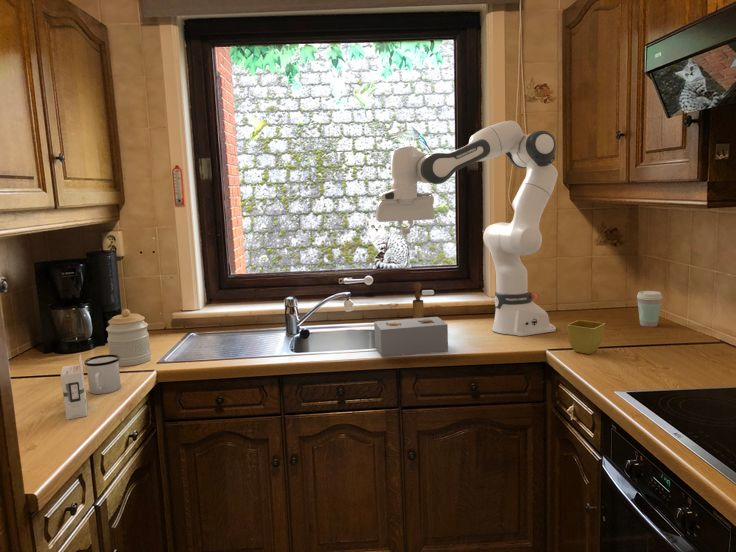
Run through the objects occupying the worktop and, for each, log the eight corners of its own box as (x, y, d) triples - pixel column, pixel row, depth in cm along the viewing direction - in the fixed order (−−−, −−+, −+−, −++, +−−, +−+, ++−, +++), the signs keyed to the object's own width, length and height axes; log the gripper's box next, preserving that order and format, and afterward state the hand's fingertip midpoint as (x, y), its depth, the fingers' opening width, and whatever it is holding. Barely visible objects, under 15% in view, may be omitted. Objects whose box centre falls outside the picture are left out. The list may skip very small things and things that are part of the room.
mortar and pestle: (427, 331, 228) (426, 283, 226) (410, 332, 228) (408, 284, 226) (426, 327, 235) (425, 280, 232) (409, 327, 235) (408, 281, 232)
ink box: (66, 409, 161) (60, 355, 159) (87, 406, 163) (81, 352, 161) (65, 420, 154) (58, 363, 151) (87, 416, 156) (81, 360, 153)
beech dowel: (399, 346, 206) (398, 321, 205) (401, 349, 202) (401, 323, 201) (387, 347, 206) (386, 322, 204) (389, 350, 202) (388, 324, 200)
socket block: (438, 342, 212) (437, 316, 211) (448, 351, 201) (447, 324, 199) (375, 347, 209) (374, 321, 208) (381, 357, 197) (380, 329, 196)
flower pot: (605, 350, 194) (605, 322, 193) (593, 357, 188) (594, 328, 187) (578, 346, 200) (578, 319, 199) (566, 352, 194) (566, 324, 193)
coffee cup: (642, 321, 230) (642, 289, 228) (665, 324, 224) (666, 291, 222) (631, 325, 225) (632, 293, 223) (655, 328, 218) (656, 295, 217)
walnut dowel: (431, 344, 208) (430, 318, 206) (434, 347, 204) (433, 321, 203) (419, 345, 207) (418, 319, 206) (422, 348, 203) (421, 322, 202)
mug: (92, 385, 180) (89, 355, 179) (126, 382, 182) (123, 353, 180) (80, 399, 169) (76, 367, 167) (116, 396, 170) (113, 364, 169)
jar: (147, 365, 199) (142, 311, 197) (105, 368, 197) (99, 314, 195) (154, 354, 212) (149, 304, 209) (114, 357, 210) (109, 306, 207)
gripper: (431, 192, 218) (432, 231, 220) (374, 194, 215) (375, 234, 217) (436, 192, 212) (437, 232, 214) (377, 195, 209) (378, 236, 211)
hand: (405, 233), depth 215 cm, fingers closed
